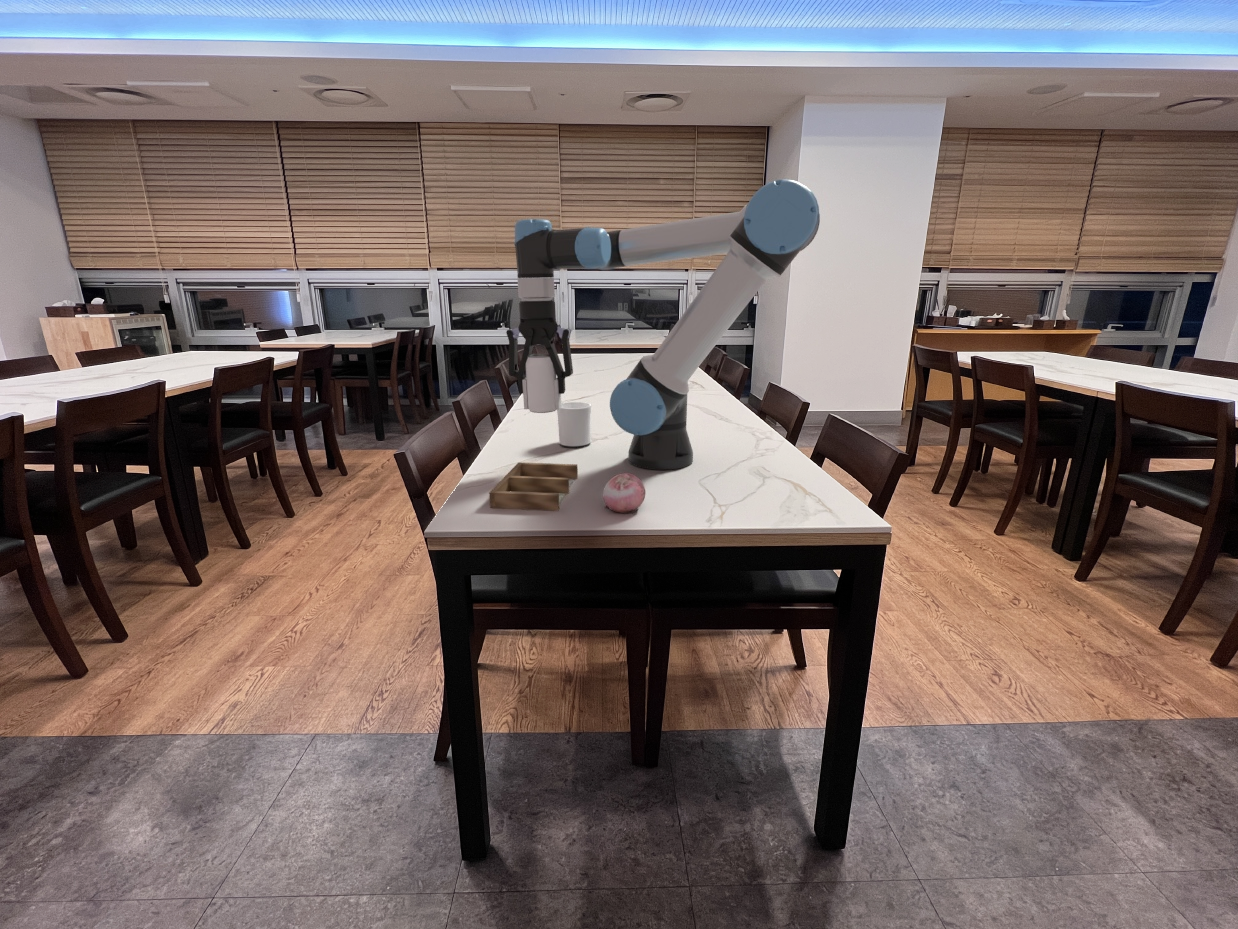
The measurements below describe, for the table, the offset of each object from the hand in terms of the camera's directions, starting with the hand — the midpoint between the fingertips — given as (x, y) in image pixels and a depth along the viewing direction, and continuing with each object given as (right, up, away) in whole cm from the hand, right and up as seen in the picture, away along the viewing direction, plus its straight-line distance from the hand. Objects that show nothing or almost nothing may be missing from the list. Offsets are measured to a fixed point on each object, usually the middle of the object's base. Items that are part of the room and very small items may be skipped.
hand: (543, 408), depth 129 cm
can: (0, -1, 0) cm, 1 cm away
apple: (+18, -21, -20) cm, 34 cm away
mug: (+5, -7, +24) cm, 25 cm away
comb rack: (+1, -18, -11) cm, 21 cm away
